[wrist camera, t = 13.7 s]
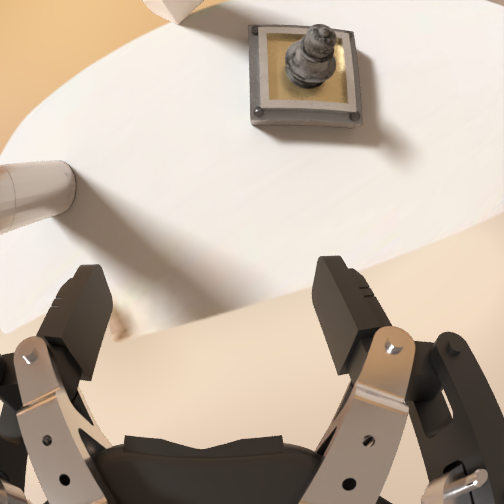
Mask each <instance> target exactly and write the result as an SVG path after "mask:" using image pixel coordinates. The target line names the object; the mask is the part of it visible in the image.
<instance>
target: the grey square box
mask: <svg viewBox="0 0 504 504" xmlns="http://www.w3.org/2000/svg"><path fill="white" fill-rule="evenodd" d="M309 28H310V26H295V25H248V30H249V73H250V118H251V124H252V125H310V126H329V127H343V128H355V127H357V126H360V125H362V108H361V93H360V81H359V71H358V62H357V54H356V46H355V39H354V32H352V31H346V30H339V29H333V31H334V32H335V34H336V36H337V42H336V44H335V46H334V54H333V55H334V57H335V59H336V70H335V72H334V74H333V75H332V76H331V77H330V78H329V79H328V80H326V81H325V82H324V83H323V84H322V85H320V86H319V87H316V88H313V89H305V88H301V87H298V86H296V85H295V84H293V83H292V82H291V81H290V80H289V78H288V77H287V75H286V71H285V66H286V64H285V54H286V51H287V49H288V48H289V47H290V46H291V45H292V44H293V43H295V42H297V41H300V40H301V39H302V38H303V37H304V36H305V35H306V34H307V31H308V29H309Z"/></svg>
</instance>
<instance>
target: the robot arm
mask: <svg viewBox="0 0 504 504" xmlns="http://www.w3.org/2000/svg"><path fill="white" fill-rule="evenodd" d="M75 191H76V182H75V177H74V174H73V172H72V170H71V168H70V167H69V165H68V164H66V163H65V162H63V161H40V162H27V163H16V164H6V165H0V235H1V234H3V233H6V232H8V231H11V230H14V229H17V228H19V227H22V226H25V225H28V224H31V223H34V222H37V221H40V220H43V219H46V218H49V217H52V216H55V215H58V214H61V213H64V212H65V211H67V210H68V209H69V207H70V206H71V204H72V202H73V200H74V197H75ZM312 301H313V305H314V308H315V311H316V314H317V316H318V319H319V322H320V325H321V327H322V330H323V333H324V336H325V339H326V342H327V344H328V347H329V350H330V353H331V356H332V359H333V362H334V365H335V368H336V370H337V374H338V375H343V374H348V373H349V375H350V378H351V381H350V383H349V385H348V387H347V390H346V392H345V394H344V396H343V399H342V401H341V403H340V405H339V408H338V410H337V412H336V414H335V416H334V418H333V420H332V422H331V424H330V426H329V428H328V430H327V431H326V433H325V434H324V436H323V438H322V439H321V441H320V443H319V445H318V446H317V448H316V450H315V452H314V451H312V450H310V449H307V448H304V447H301V446H297V445H292V444H286V443H283V439H282V435H280V436H272V437H262V438H250V439H241V440H237V441H234V442H230V443H227V444H223V445H219V446H215V447H211V448H207V449H195V448H191V447H187V446H184V445H180V444H176V443H173V442H169V441H166V440H163V439H154V438H144V437H135V436H126V435H125V439H124V444H121V445H116V446H112V445H111V443H110V442H109V441H108V439H107V438H106V437H105V436H104V434H103V433H102V432H101V430H100V429H99V427H98V425H97V423H96V421H95V419H94V417H93V415H92V413H91V411H90V409H89V407H88V405H87V403H86V401H85V399H84V397H83V394H82V392H81V390H80V388H79V387H78V384H79V381H80V380H86V381H91V379H92V375H93V371H94V368H95V364H96V361H97V357H98V354H99V350H100V347H101V343H102V340H103V337H104V334H105V331H106V328H107V325H108V322H109V319H110V316H111V313H112V308H113V301H112V296H111V293H110V290H109V287H108V284H107V282H106V279H105V276H104V273H103V270H102V267H101V266H100V265H99V264H95V265H81V266H79V268H78V270H77V271H76V273H75V275H74V277H73V278H70V279H69V280H68V281H67V282H66V283H65V284H64V285H63V286H62V287H61V288H60V290H59V292H58V294H57V296H56V299H54V301H53V303H52V307H50V309H49V311H48V313H47V315H46V317H45V319H44V321H43V323H42V325H41V327H40V329H39V331H38V333H37V335H36V336H35V337H29V338H27V339H25V340H23V341H22V342H21V343H20V344H19V345H18V347H17V348H16V350H15V353H10V354H5V355H1V354H0V400H2V402H3V403H4V404H3V408H2V412H1V416H0V504H32V503H31V502H30V501H29V500H27V499H26V497H25V495H24V486H25V474H26V464H27V456H28V455H29V457H30V460H31V463H32V465H33V468H34V470H35V473H36V475H37V478H38V480H39V482H40V485H41V487H42V489H43V491H44V493H45V495H46V497H47V501H46V502H45V503H44V504H392V503H390V502H389V501H387V500H385V499H384V498H382V497H381V496H379V495H380V493H381V490H382V488H383V486H384V483H385V481H386V478H387V476H388V474H389V471H390V468H391V466H392V463H393V460H394V457H395V455H396V452H397V449H398V445H399V443H400V440H401V436H402V433H403V430H404V427H405V423H406V420H407V416H408V412H409V415H410V418H411V421H412V424H413V427H414V430H415V433H416V437H417V439H418V443H419V446H420V450H421V453H422V457H423V460H424V464H425V467H426V471H427V475H428V479H429V485H428V486H427V488H426V490H425V493H424V495H423V496H422V499H421V504H504V417H503V415H502V412H501V410H500V407H499V405H498V403H497V401H496V399H495V396H494V394H493V392H492V390H491V388H490V386H489V384H488V382H487V379H486V378H485V376H484V374H483V372H482V370H481V368H480V366H479V364H478V362H477V360H476V359H475V357H474V355H473V353H472V351H471V349H470V348H469V346H468V344H467V343H466V341H465V340H464V339H463V338H462V337H461V336H459V335H457V334H455V333H453V332H444V333H442V334H440V335H439V336H438V338H437V340H436V341H435V343H431V342H420V341H414V340H413V339H412V337H411V336H410V335H409V334H408V333H407V332H406V331H404V330H403V329H401V328H398V327H394V326H392V324H391V323H390V321H389V319H388V317H387V316H386V314H385V312H384V311H383V309H382V307H381V305H380V303H379V302H378V300H377V298H376V297H374V293H373V292H372V290H371V289H370V288H369V285H368V283H367V282H366V280H365V278H364V277H363V276H362V275H361V274H360V273H358V272H357V271H356V270H355V269H353V268H350V269H348V268H347V266H346V264H345V263H344V261H343V259H342V258H341V256H320V257H319V258H318V261H317V266H316V272H315V277H314V282H313V287H312ZM443 389H444V391H445V393H446V396H447V398H448V401H449V403H450V405H451V408H452V410H453V419H452V416H451V414H450V411H449V409H448V406H447V404H446V401H445V399H444V396H443V394H442V392H441V391H442V390H443ZM404 401H405V403H406V404H405V403H404Z"/></svg>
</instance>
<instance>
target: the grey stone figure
mask: <svg viewBox="0 0 504 504" xmlns="http://www.w3.org/2000/svg"><path fill="white" fill-rule="evenodd" d="M336 42H337V36H336V34H335V32H334V31H333V29H331V28H330V27H328V26H326V25H323V24H316V25H313V26H311V27H310V28H309V29H308V31H307V34H306V35H305V36H304V37H303V38H302V39H301V40H300V41H297V42H295V43H293V44H292V45H291V46H290V47H289V48H288V49H287V51H286V54H285V64H286V66H285V71H286V75H287V77H288V78H289V80H290V81H291V82H292V83H293V84H295V85H296V86H298V87H301V88H305V89H313V88H316V87H319V86H320V85H322V84H323V83H324V82H325V81H326V80H328V79H329V78H330V77H331V76H332V75H333V74H334V72H335V70H336V59H335V57H334V55H333V54H334V46H335V44H336Z"/></svg>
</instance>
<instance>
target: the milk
mask: <svg viewBox="0 0 504 504" xmlns="http://www.w3.org/2000/svg"><path fill="white" fill-rule="evenodd" d="M203 1H204V0H143V2H144V3H145V4H146V5H147V7H148V8H149V9H150V10H151V12H153V13H154V14H156V15H158V16H161V17H163V18H165V19H167V20H169V21H171V22H173V23H175V24H177V25H178V24H179V23H180V22H181V21H182V20H183V19H185V18H186V17H187V16H188V15H189V14H190V13H191V12H192V11H193V10H194V9H195V8H196V7H197V6H198V5H199V4H201V3H202V2H203Z"/></svg>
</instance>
